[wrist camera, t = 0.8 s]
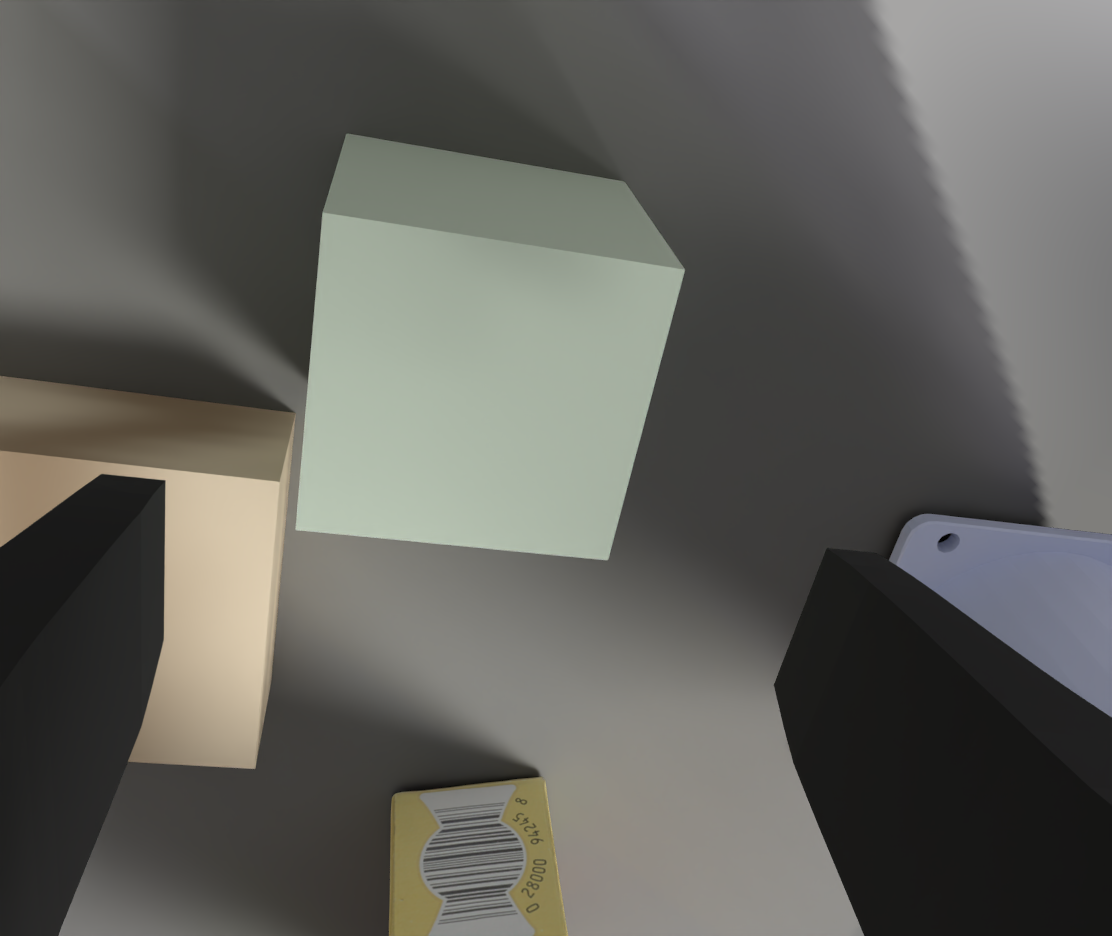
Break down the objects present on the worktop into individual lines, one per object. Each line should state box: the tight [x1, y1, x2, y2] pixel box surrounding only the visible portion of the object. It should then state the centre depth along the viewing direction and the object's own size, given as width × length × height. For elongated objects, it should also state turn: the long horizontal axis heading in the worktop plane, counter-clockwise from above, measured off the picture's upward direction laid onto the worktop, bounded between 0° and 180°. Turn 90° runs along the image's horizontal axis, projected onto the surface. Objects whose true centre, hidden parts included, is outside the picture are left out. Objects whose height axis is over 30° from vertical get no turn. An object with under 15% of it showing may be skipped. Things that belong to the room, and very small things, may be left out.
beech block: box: [0, 376, 296, 769], centre depth 20 cm, size 7×7×3 cm
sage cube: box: [296, 133, 685, 560], centre depth 17 cm, size 5×5×5 cm
